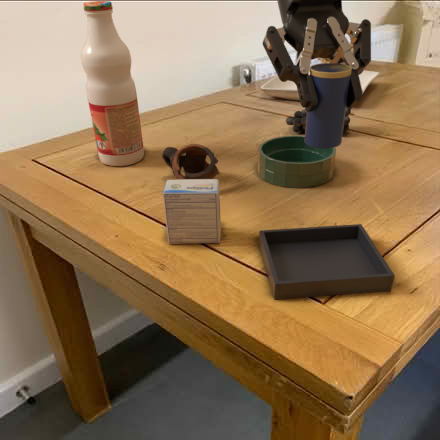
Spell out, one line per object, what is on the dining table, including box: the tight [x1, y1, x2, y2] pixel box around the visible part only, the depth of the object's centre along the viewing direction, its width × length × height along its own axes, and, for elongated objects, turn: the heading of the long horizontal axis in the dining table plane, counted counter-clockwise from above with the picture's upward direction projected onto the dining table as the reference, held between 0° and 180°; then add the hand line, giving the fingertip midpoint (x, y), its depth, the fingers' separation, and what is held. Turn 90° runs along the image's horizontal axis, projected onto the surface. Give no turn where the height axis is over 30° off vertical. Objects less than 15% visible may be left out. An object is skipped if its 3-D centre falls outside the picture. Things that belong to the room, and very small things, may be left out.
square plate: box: [259, 65, 380, 102], centre depth 132 cm, size 27×27×4 cm
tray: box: [258, 223, 395, 300], centre depth 64 cm, size 15×13×2 cm
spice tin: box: [304, 63, 352, 148], centre depth 59 cm, size 5×5×9 cm
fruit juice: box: [80, 0, 145, 167], centre depth 89 cm, size 9×9×28 cm
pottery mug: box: [161, 143, 221, 180], centre depth 86 cm, size 12×9×8 cm
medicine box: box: [162, 178, 222, 245], centre depth 69 cm, size 8×4×9 cm, turn 88°
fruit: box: [285, 105, 356, 134], centre depth 105 cm, size 9×8×15 cm
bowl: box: [257, 135, 337, 189], centre depth 88 cm, size 14×14×5 cm
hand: (333, 105), depth 57 cm, fingers closed on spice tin, 5 cm apart
